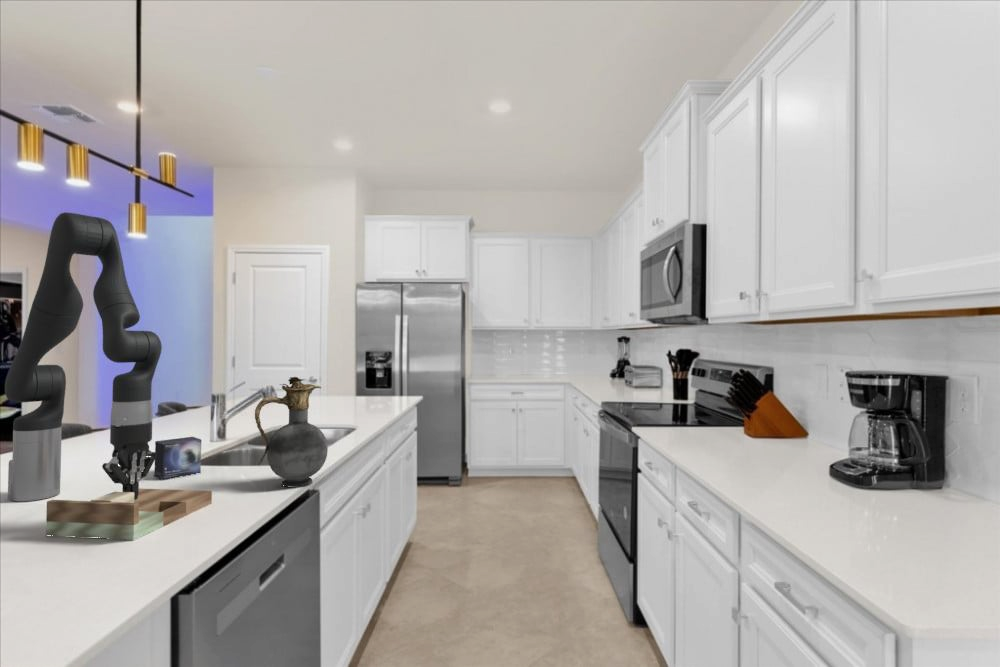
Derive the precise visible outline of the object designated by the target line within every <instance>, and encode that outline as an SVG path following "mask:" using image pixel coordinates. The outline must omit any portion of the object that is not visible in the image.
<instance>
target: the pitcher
mask: <svg viewBox="0 0 1000 667" xmlns="http://www.w3.org/2000/svg"><path fill="white" fill-rule="evenodd" d="M303 381H305V380H304V379H303V378H302V379H301V378H300V377H298V376H292V377H289V379H288V382H289V385H290V386H289V385H288V384H286V383H282V384H281V383H280V384H279V386H282V387H281V388H282V390H283V391H285V393H286V395H284V396H283V397H282V398H281V397H274V396H268V397H264V398H262V399H261V400H260V401H259V402H258V403H257V405H256V407H255V409H254V419H255V424H256V426H257V427H256V428H257V429H258V431H259V432H260V435H261V436H262V439H263V441H264V444H265V449H264V453H263V455H262V457H261V458H260V460H259V462H258V464H257V465H258V467H259V466H260V464H261V463H262V462H263V460H264V458H265V457H266V456H267V458H266V459H267V463H268V465H269V468H270V469H271V471H272V472H273V473H274V474H275V475H277V476H278V477H279V478H281V479H284V480H283V481H281V485H282V486H283V485H284V486H302V487H306V486H309V485H311V484H312V483H313V479H312V478H311V477H312V476H314V475H315V474H317V473H318V472H319V471H320V470H321V469H322V468H323V466H324V464H325V463H326V460H327V457H328V450H329V448H328V443H327V442H328V441H327V439H326V436H325V434H324V433H323V431H322V430H321V429H320V428H319V427H317V426H316V425H314V424H312V423H309V420H308V418H309V413H308V412H309V410H308V409H310V402H309V401H310V400H309V398H310V395H311V394H312V392H313V391H314V390H315V389H322V386H320V385H315V384H309V383H308V384H307V383H306V384H305V383H303ZM273 403H274V404H275V403H276V404H279V405H284V406H286V407H287V409H288V423H287V424H286V425H284V426H282V427H280V428H278V429H277V430H276V431H275V432H274V433H273V434H272V436H271V437H270V439H269V441H268V437H267V435H266V433H265V431H264V430H263V428H262V424H261V419H260V412H261V411H262V408H263V407H264V406H265V405H268V404H273ZM284 486H283V487H284Z"/></svg>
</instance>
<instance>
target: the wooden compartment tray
mask: <svg viewBox="0 0 1000 667" xmlns="http://www.w3.org/2000/svg"><path fill="white" fill-rule="evenodd" d="M212 494H213V492H212V490H197V489H196V490H195V489H193V490H190V489H189V490H188V489H164V488H163V489H162V488H142V487H141V488H140V487H139V494H138V498H137V499H136V500H134V503H123V502H97V501H91V500H69V499H51V500H47V501H46V519H45V520H46V521H45V522H46V523H45V526H46V527H45V536H46V535H51V536H52V535H53V536H75V537H98V538H99V537H100V538H109V539H108V540H113V539H126V540H125V541H135V540H137V538H138V539H139V538H142V537H144V536H145V534H146V535H148V534H150V533H152V532H154V531H156V530H158V529H161V528H162V527H165V526H167V525H169V524H171V523H174V522H176V521H177V520H179V519H182V518H184V517H186V516H188V515H190V514H192V513H194V512H197V511H199V510H201V509H203V508H205V507H208V506H209V505H211V504H212V500H213V498H212V497H213V495H212ZM149 532H150V533H149ZM147 533H148V534H147ZM143 535H144V536H143ZM141 536H142V537H141Z"/></svg>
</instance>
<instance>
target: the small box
mask: <svg viewBox="0 0 1000 667" xmlns="http://www.w3.org/2000/svg"><path fill="white" fill-rule="evenodd" d="M154 442H155V443H154V444H155V445H154V446H155V447H154V449H155V450H154V452H156V453H157V456H156V458H155V460H154V473H153V477H154V478H157V479H159V480H161V481H165V479H166V480H169V479H170V478H171V479H176V478H175V477H177V478H181V477H180V476H183V477H187V476H186V475H188V476H192V475H191V474H194V475H197V474H196V473H200V474H201V464H202V461H201V460H202V439H201V438H198V437H195V436H188V437H187V436H186V437H179V438H171V439H162V440H155V441H154Z"/></svg>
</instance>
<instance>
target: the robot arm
mask: <svg viewBox="0 0 1000 667" xmlns="http://www.w3.org/2000/svg"><path fill="white" fill-rule="evenodd" d="M74 254H75V255H81V256H83V255H84V256H89V257H90V256H92V257H98V259H99V261H100V262H101V265H102V269H101V272H100V273H99V274H100V275H98V276H99V277H98V278H97V280H96V282H95V284H94V288H93V292H92V296H93V301H94V305H95V307H96V309H97V312H98V314H99V317H100V319H101V326H102V352H103V354H104V355H105V357H106V358H107V359H108V360H110V361H111V362H113V363H118V364H119V363H121V364H123V363H124V364H125V363H134V366H133V367H132V369H131V370H130V371H128V372H124V373H121V374H118V375H115V376H114V378H113V380H112V398H111V399H112V400H111V409H110V427H109V430H110V433H109V436H110V437H109V438H110V439H109V442H110V444H111V445H112V446H113V450H112V453H111V457H112V458H111V459H110V460H109V461H108V462H105V463H103V464H102V466H101V467H102V469H103V471H104V472H105V473H106V474H107V476H108V477H109V478H110V479H111V481H112V482H113V483H114V484H121V485H122V486H121V487H122V491H121V492H134V500H136V499H137V498H138V494H139V488H140V486H139V484H140V482H141V480H142V479H143V478H146V477H147V476H148V474H149V472H150V470H151V468H152V467H153V464H154V463H155V458H156V456H157V453H156V452H155V451H151V450H150V445H149V443H150V442H151V441H152V439H153V405H152V387H153V386H152V383H153V379H154V375H155V372H156V369H157V366H158V363H159V360H160V357H161V354H162V349H163V348H162V347H163V346H162V341H161V339H160V337H159V336H158V335H157V334H156V333H155V332H153V331H149V330H128V329H130V328H132V327H134V326H135V325H137V324H138V323H139V321H140V318H141V316H140V311H139V309H138V307H137V305H136V302H135V299H134V298H133V297H134V296H133V295H132V292H131V290H130V288H129V285H128V282H127V276H126V271H125V267H124V266H125V265H124V261H123V255H122V252H121V246H120V242H119V237H118V233H117V231H116V228H115V227H114V225H113V223H112V222H111V221H109V220H108V219H105V218H102V217H97V216H91V215H86V214H85V215H84V214H80V213H75V212H68V211H67V212H62V213H60V214H58V215H57V217H56V218H55V219H54V222H53V225H52V227H51V230H50V236H49V240H48V245H47V251H46V257H45V261H44V266H43V270H42V274H41V277H40V281H39V283H38V284H39V285H38V287H37V290H36V292H35V295H34V298H33V301H32V304H31V308H30V310H29V315H28V317H27V322H26V326H25V329H24V332H23V337H22V339H21V341H20V344H19V347H18V349H17V351H16V353H15V356H14V358H13V360H12V362H11V364H10V367H9V369H8V372H7V375H6V376H5V383H4V394H5V397H6V398H7V400H9V401H10V402H12V403H33V402H41V403H40V405H39V406H38V407H37V408H35V409H34V410H32V411H30V412H28V413H25V414H23V415H21V416H17V417H16V418H14V420H13V424H12V458H11V459H10V460H8V474H7V477H8V478H7V499H8V500H11V501H12V502H32V501H39V500H44V499H48V498H52V497H55V496H58V495H59V494H60V493H61V477H62V476H61V474H62V473H61V472H62V471H61V470H62V428H63V427H62V424H63V417H64V409H65V398H66V385H67V378H66V373H65V370H64V368H63V367H62V366H60V365H59V364H39V363H40V361H41V360H42V359H43V358H44V356H46V355H47V354H48V353H49V352H50V351H51V350H53V349H54V348H55V347H56V346H57V345H59V344H61V343H62V342H64V341H65V339H67V338H68V337H69V336H71V334H72V333H73V332H75V330H76V328H77V326H78V324H79V321H80V318H81V315H82V311H83V310H84V309H83V308H84V301H83V296H82V294H81V292H80V290H79V288H78V286H77V285H76V283H75V281H74V279H73V276H72V274H71V261H72V257H73V255H74ZM126 329H127V330H126Z"/></svg>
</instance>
